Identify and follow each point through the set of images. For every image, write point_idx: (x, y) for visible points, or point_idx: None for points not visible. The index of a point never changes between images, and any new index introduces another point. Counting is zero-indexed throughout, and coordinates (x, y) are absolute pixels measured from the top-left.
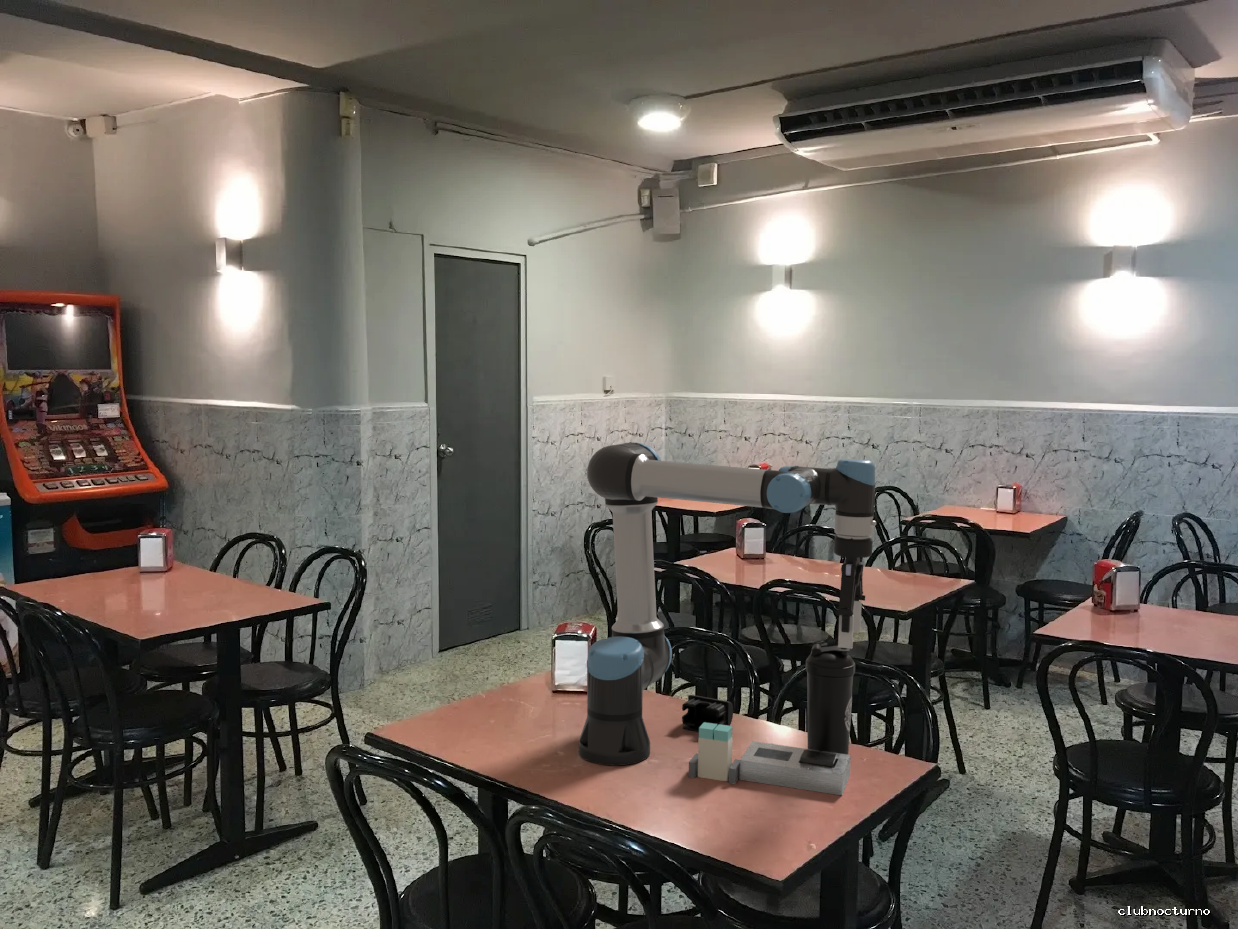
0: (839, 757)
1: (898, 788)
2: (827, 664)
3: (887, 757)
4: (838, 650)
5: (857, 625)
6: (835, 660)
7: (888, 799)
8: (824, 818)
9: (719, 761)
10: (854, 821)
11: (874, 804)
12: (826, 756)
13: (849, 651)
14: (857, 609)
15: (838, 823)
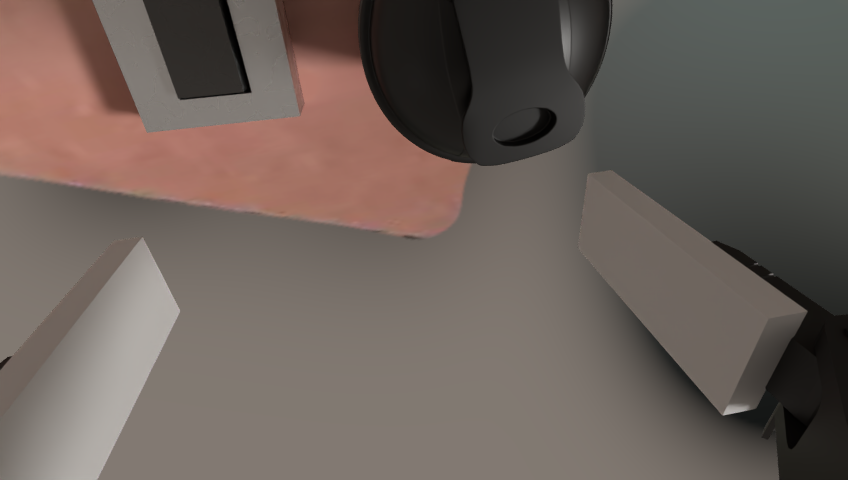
0: (262, 93)
1: (290, 211)
2: (376, 56)
3: None
4: (467, 113)
5: (603, 257)
6: (407, 99)
7: (220, 207)
8: (6, 113)
9: None
10: (53, 175)
11: (174, 189)
12: (205, 69)
13: (499, 161)
14: (677, 335)
15: (10, 148)
